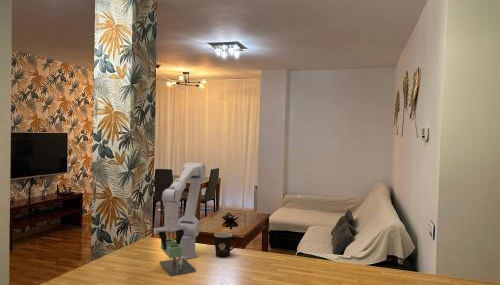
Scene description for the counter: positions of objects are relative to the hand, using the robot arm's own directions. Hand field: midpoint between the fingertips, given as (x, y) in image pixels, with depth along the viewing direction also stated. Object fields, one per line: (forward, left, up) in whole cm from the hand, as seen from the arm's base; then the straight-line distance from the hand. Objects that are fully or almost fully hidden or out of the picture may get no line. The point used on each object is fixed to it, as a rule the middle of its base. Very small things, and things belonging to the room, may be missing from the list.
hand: (171, 248), depth 168 cm
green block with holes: (0, 0, -2) cm, 2 cm away
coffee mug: (-4, +28, -9) cm, 29 cm away
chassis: (+1, +3, -9) cm, 9 cm away
